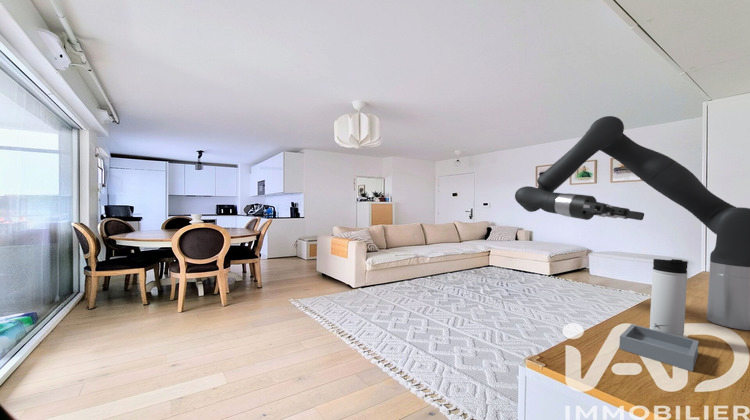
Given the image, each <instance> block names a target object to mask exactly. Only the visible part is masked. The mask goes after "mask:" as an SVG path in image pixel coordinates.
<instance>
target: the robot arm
mask: <svg viewBox="0 0 750 420" xmlns="http://www.w3.org/2000/svg"><path fill="white" fill-rule="evenodd" d="M624 130H625V125H624V122H623V121H622V120H621V119H620V118H619V117H617V116H613V115H606V116H602V117H600V118H598V119H596V120H595V121H594V122H593V123H592V124H591V125H590V127H589V129H588V130H587V131H586V132H585V134H584V135H582V136H581V138H580V139H579V140H578V141H577V143H575V145H573V146H572V147H571V149H569V150H568V151H567V152H566V153H564V155H562V156H561V157H560V158H559V159H558V160H556V161H555V162H554V163H553V164H552V165H551V166H549V167H548V168H547V169H546V170H545V171H544V172H543V173H542V174H541V175H539V177H538V178H537V180H536V181H537V185H538V187H535V186H527V185H526V186H522V187H520V188H518V189H517V190H516V192H515V194H514V199H515V202H517V203H518V205H520V206H521V207H522V208H523V209H524V210H525V211H527V212H530V213H533V212H536V211H539V210H542V211H544V212H546V213H549V214H555V215H561V216H562V217H563V216H564V217H568V218H573V219H580V220H584V221H588V220H589V221H590V220H591V219H592V218H593V217H594V216H598V217H602V218H606V217H607V218H611V219H617V218H620V219H624V220H628V219H631V220H636V221H643V220H644V217H645V213H644V212H641V211H635V210H630V208H626V207H619V206H615V205H612V204H608V203H605V202H599V201H597V198H596V197H595V196H593V195H587V194H579V193H578V194H577V193H563V192H562V193H561V192H556V190H557V189H558V188H560V187H561V185H563V183H566V182H567V180H568V179H570V178H571V177H572V176H573V175H574V174H575V173H576V172H577V171H578V169H580V167H582V166H583V165H584V164H585V163H586V162H587V161H588V160H589V159H591V157H593V156H595V154H596V153H598V152H603V153H604V154H606V155H608V156H609V157H611V158H613V159H614V160H616V161H617V162H619V164H622V165H623V167H625V168H626V169H628V170H629V171H630V172H631V173H632V174H634V175H635V176H636V177H637V178H639V179H640V180H641V181H643V182H644V183H646V184H647V185H648V186H650V188H652V189H654V190H655V191H657V192H658V193H660V194H661V195H663V196H664V197H665V198H668V199H670V200H671V201H672V202H674V203H676V205H679V206H681V207H682V208H684V209H685V210H686V211H688V212H689V213H691V214H692V215H693V216H694V217H696V218H697V220H699V221H700V222H701V223H702V224H703V225H704V226H706V227H707V228H708V229H709V230H710V231H711V232H712V233H714V234H715V235H716V240H715V245H714V249H713V250H712V251H711V252H710V255H709V257H710V258H709V275H708V276H709V277H708V290H707V291H708V292H707V293H708V294H707V306H706V307H707V309H706V320H707V321H709V322H710V323H713V324H716V325H719V326H723V327H726V328H732V329H735V330H741V331H742V330H743V331H750V208H749V207H737V206H734V205H733V204H731V203H730V202H727V201H725V200H724V199H722V198H720V197H718V196H717V195H715V194H714V193H713V192H711V191H710V190H709V189H708V188H707V187H706V186H705V185H704V183H702V182H701V181H700V179H698V177H697V176H696V175H695V174H694V173H692V171H690V169H688V168H687V167H685V166H683V164H681V163H679V162H677V161H676V160H674V159H673V158H671V157H670V156H667V155H665V154H663V153H661V152H659V151H656V150H653V149H652V148H649V147H648V148H647V147H645V146H642V145H641V144H639V143H637V142H635V141H634V140H633V139H631V138H630V137H628V136H627V135H626V134H625V133H624Z"/></svg>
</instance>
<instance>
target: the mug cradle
mask: <svg viewBox="0 0 750 420" xmlns="http://www.w3.org/2000/svg"><path fill="white" fill-rule="evenodd" d="M619 350H621V351H624V352H628V353H631V354H635V355H637V356H641V357H644V358H648V359H651V360H654V361H657V362H660V363H664V364H667V365H670V366H674V367H677V368H679V369H682V370H686V371H689V372H692V373H693V372H694V369H695V366H696V362H697V359H698V355H699V340H696V339H692V338H688V337H685V336H684V337H681V336H677V335H673V334H669V333H665V332H661V331H657V330H653V329H650V327H645V326H640V325H637V324H632V323H631V324H630V325H629V326H628V327H627V328H626V329H625V330H624V331H623V332H622V333H621V335H620V336H619Z"/></svg>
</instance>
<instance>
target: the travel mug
mask: <svg viewBox="0 0 750 420" xmlns="http://www.w3.org/2000/svg"><path fill="white" fill-rule="evenodd" d="M688 263H689V262H688V260H687V261H686V260H683V259H675V258H671V259H660V258H654V259H653V263H652V265H653V266H652V274H651V293H650V294H651V295H650V310H649V311H650V315H649V329H653V330H657V331H661V332H665V333H669V334H673V335H677V336H681V337H685V335H684V333H685V322H686V321H685V318H686V303H687V285H688V276H687V275H688Z"/></svg>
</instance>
